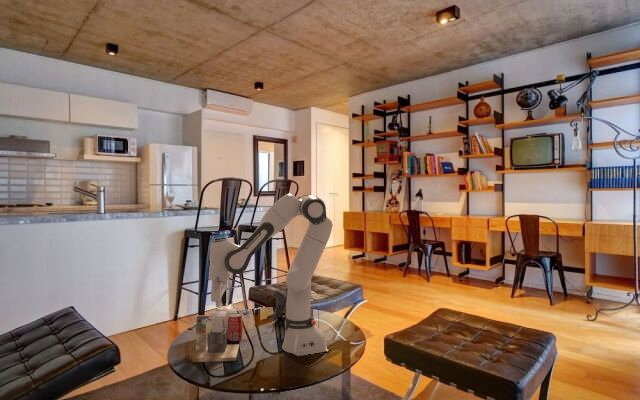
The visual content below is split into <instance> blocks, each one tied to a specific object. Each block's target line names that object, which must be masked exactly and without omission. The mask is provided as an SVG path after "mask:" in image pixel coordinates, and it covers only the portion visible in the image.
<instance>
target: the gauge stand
mask: <svg viewBox="0 0 640 400" xmlns="http://www.w3.org/2000/svg"><path fill="white" fill-rule="evenodd" d="M201 316H207V314H206V315H201ZM198 320H202V322H201V323H198ZM195 322H196V325H195V327H196V328H195V334H196V335H195V352H194V354H193V356H192V358H191V362H192V363H207V362H236V361H237V359H238V358H237V357H238V353H239V349H240V344H237V343H236V344H235V343H234V344H232V343H230V344H229V343H228V330H227V328H224V333H221V334H212V328H210V330H209V332H208V333H207V319H197V318H196V321H195ZM207 334H208V335H207ZM207 336H208V337H207ZM206 341H207V343H206Z"/></svg>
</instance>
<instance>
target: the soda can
mask: <svg viewBox="0 0 640 400" xmlns="http://www.w3.org/2000/svg"><path fill="white" fill-rule="evenodd" d="M243 320H244V319H243V315H242V313H240V312H239V313H238V312H237V313H233V314H230V315H229V318H228V330H227V340H229V341H230V342H239V341H240V340H241V339H242V338H243V323H244V322H243Z"/></svg>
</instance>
